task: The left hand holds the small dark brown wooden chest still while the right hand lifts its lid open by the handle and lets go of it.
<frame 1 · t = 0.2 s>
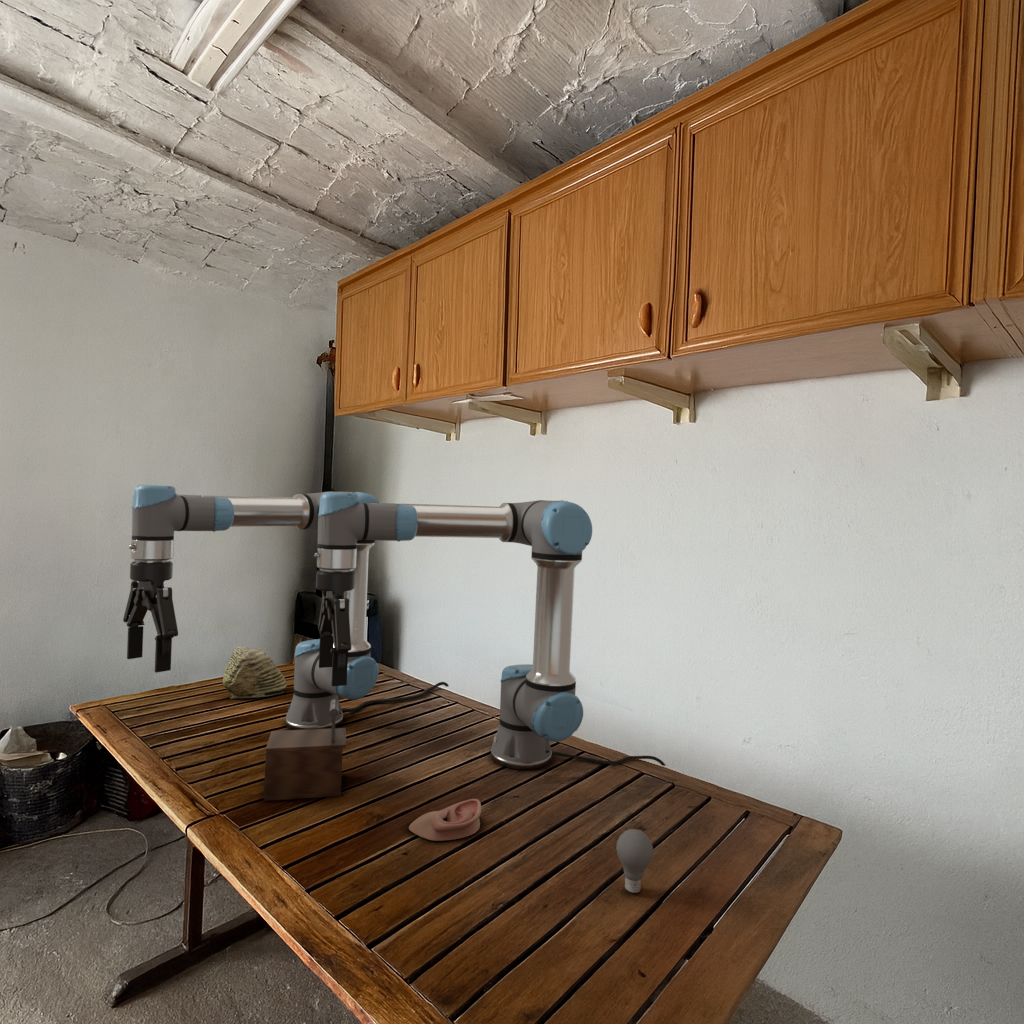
left hand: (148, 664, 129), 28 cm above the table, tool pointing down, fingers open, 13 cm apart
right hand: (332, 675, 126), 28 cm above the table, tool pointing down, fingers open, 13 cm apart
fossil: (254, 694, 198), on the table
anatomical model: (445, 827, 124), on the table
lid: (308, 723, 137), point 14 cm above the table, hinge at 0.0°
chest: (304, 787, 137), on the table
light bulb: (632, 891, 106), on the table
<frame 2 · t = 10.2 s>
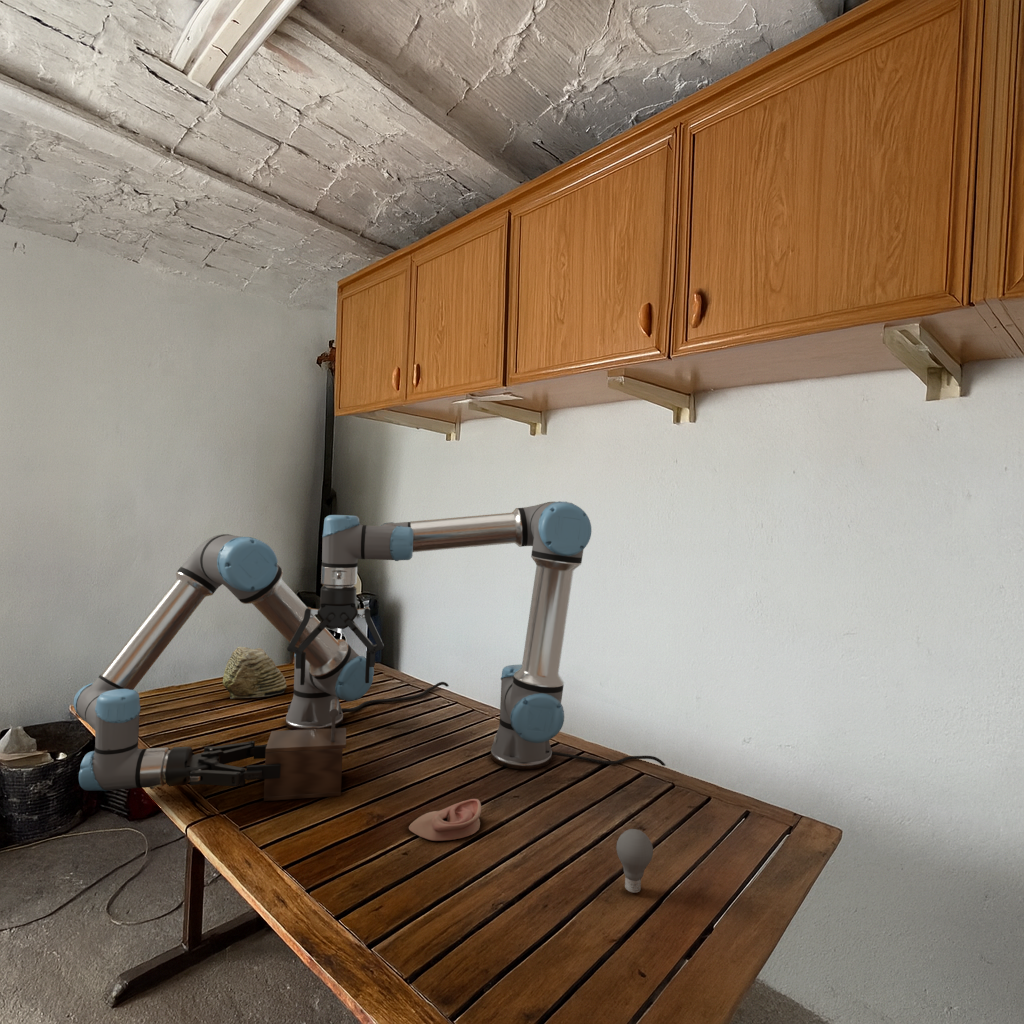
left hand: (282, 760, 136), 6 cm above the table, tool horizontal, fingers closed on chest, 10 cm apart
right hand: (335, 682, 139), 23 cm above the table, tool pointing down, fingers open, 13 cm apart
chest: (304, 787, 138), on the table, touching left hand
everything else where it was.
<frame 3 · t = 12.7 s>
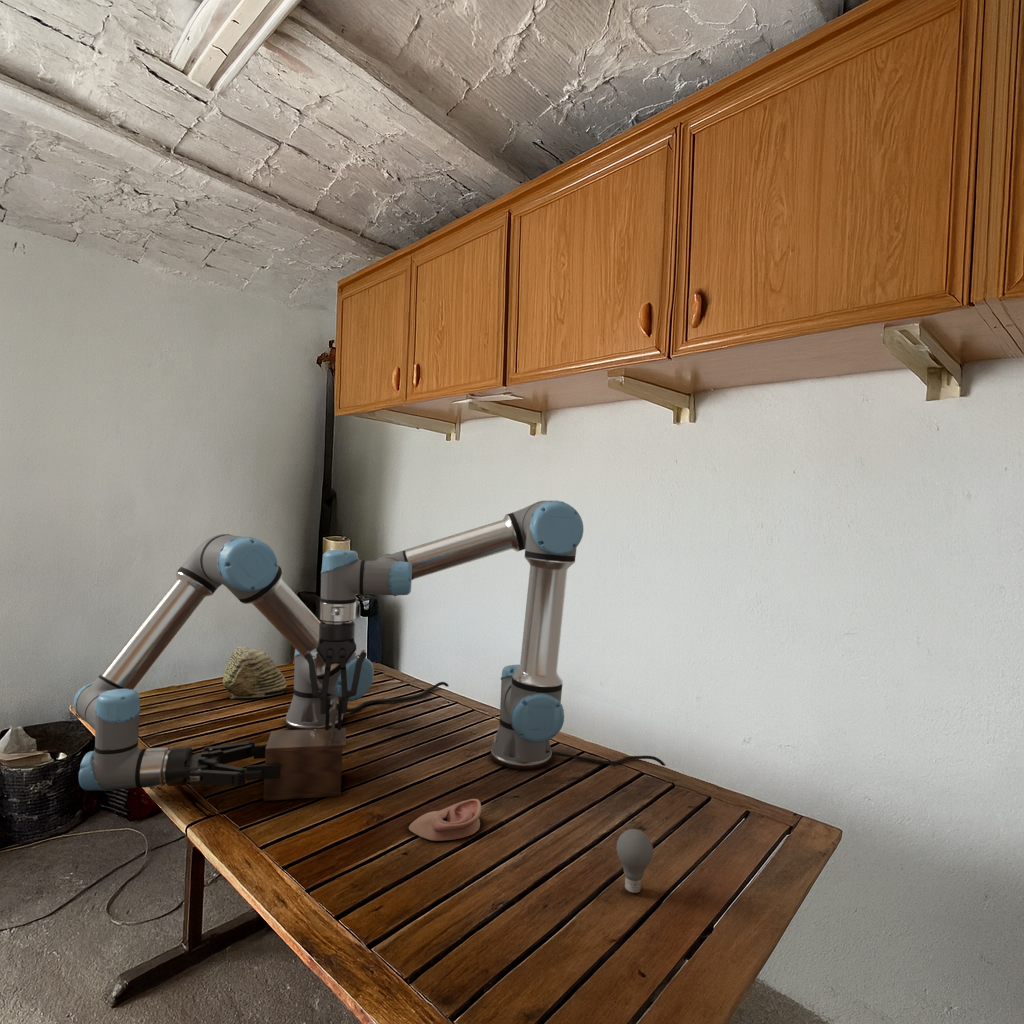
left hand: (282, 760, 136), 6 cm above the table, tool horizontal, fingers closed on chest, 10 cm apart
right hand: (333, 727, 139), 13 cm above the table, tool pointing down, fingers closed on lid, 2 cm apart
lid: (308, 723, 137), point 14 cm above the table, hinge at -0.1°, touching right hand
chest: (304, 787, 137), on the table, touching left hand
everything else where it was.
when the left hand's fingers open (6 cm above the table, at t = 20.5 s): chest stays where it is, on the table.
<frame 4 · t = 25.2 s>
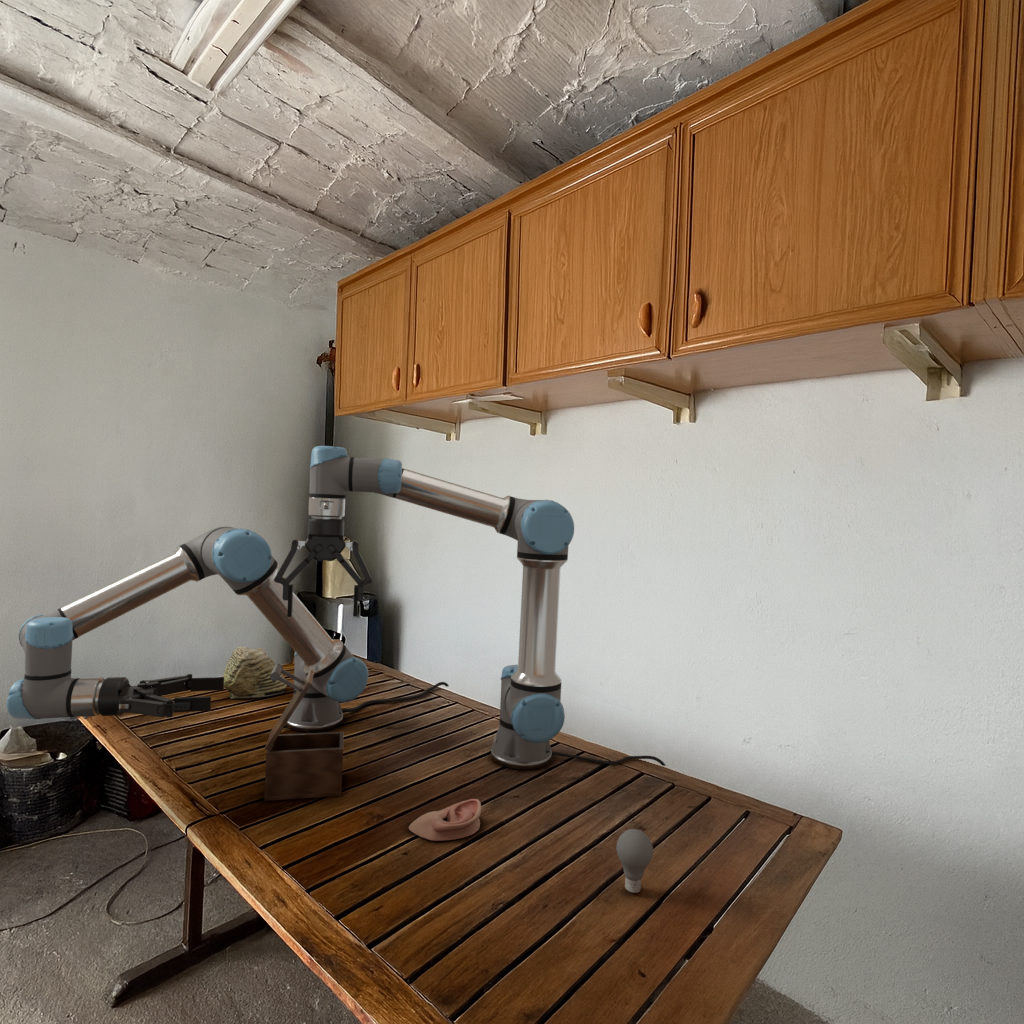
left hand: (217, 693, 133), 21 cm above the table, tool horizontal, fingers open, 13 cm apart
right hand: (322, 615, 137), 38 cm above the table, tool pointing down, fingers open, 13 cm apart
lid: (275, 700, 136), point 19 cm above the table, hinge at 59.5°
chest: (305, 787, 138), on the table
everything else where it was.
at the end: lid at +60° (first picture: +0°); the left hand is holding nothing; the right hand is holding nothing; chest tilted 0°; chest never tilted more than 1° during the clip; chest moved 0.1 cm from its start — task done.
